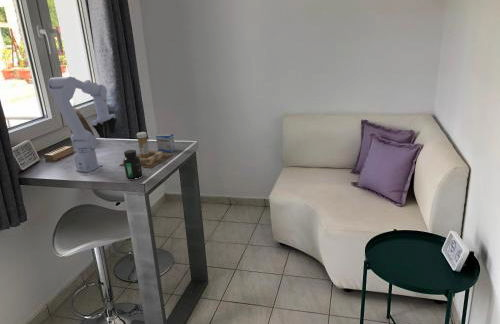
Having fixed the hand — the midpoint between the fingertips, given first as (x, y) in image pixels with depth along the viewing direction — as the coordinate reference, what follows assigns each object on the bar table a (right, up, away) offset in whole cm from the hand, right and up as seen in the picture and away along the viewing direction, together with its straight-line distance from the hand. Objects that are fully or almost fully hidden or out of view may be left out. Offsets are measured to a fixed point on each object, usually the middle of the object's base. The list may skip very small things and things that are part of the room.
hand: (107, 135), depth 201 cm
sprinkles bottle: (+22, -13, -9) cm, 27 cm away
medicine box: (+30, -8, +3) cm, 31 cm away
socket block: (+22, -13, -9) cm, 27 cm away
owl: (-22, -3, +27) cm, 35 cm away
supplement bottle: (+22, -21, -29) cm, 42 cm away
